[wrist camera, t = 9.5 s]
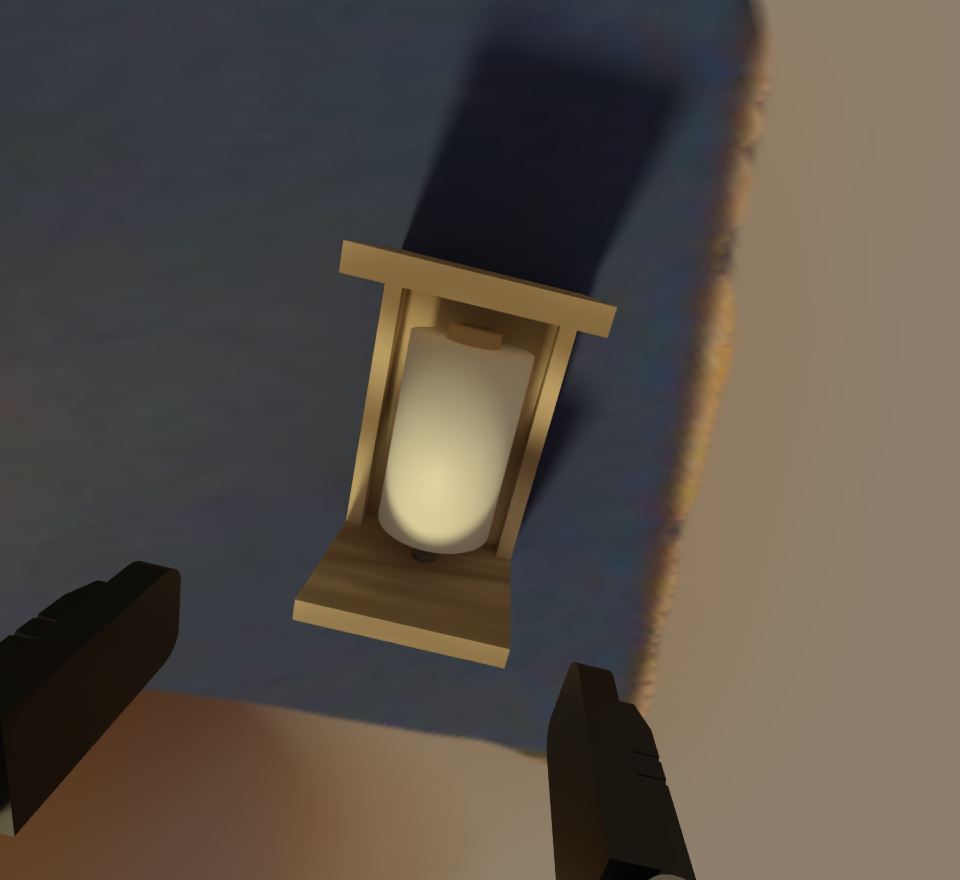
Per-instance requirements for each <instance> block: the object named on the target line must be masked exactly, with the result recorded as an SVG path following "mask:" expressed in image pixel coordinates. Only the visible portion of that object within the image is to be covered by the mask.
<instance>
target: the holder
mask: <svg viewBox="0 0 960 880" xmlns="http://www.w3.org/2000/svg"><path fill="white" fill-rule="evenodd" d="M339 272H341V273H345V274H349V275H353V276H357V277H361V278H365V279H369V280H373V281H377V282H381V283H385V287H384V293H383V299H382V305H381V312H380V318H379V324H378V330H377V336H376V342H375V348H374V354H373V360H372V366H371V373H370V379H369V385H368V391H367V397H366V403H365V409H364V415H363V421H362V428H361V434H360V440H359V446H358V452H357V458H356V464H355V470H354V476H353V483H352V489H351V495H350V501H349V507H348V513H347V519H346V522H345V524H344V525H343V527H342V528H341V530H340V531H339V533H338V535H337V536H336V538H335V539H334V541H333V542H332V544H331V545H330V547H329V548H328V550H327V551H326V553H325V555H324V556H323V558H322V559H321V561H320V562H319V564H318V565H317V567H316V568H315V570H314V571H313V573H312V575H311V576H310V578H309V579H308V581H307V582H306V584H305V585H304V587H303V588H302V590H301V591H300V593H299V595H298V596H297V598H296V599H295V605H294V612H293V620H297V621H301V622H306V623H310V624H314V625H319V626H323V627H327V628H332V629H336V630H340V631H345V632H349V633H353V634H358V635H362V636H366V637H371V638H375V639H379V640H384V641H388V642H392V643H397V644H401V645H405V646H410V647H414V648H418V649H423V650H427V651H431V652H436V653H440V654H444V655H449V656H453V657H457V658H462V659H466V660H470V661H475V662H479V663H483V664H488V665H492V666H496V667H500V668H504V667H505V664H506V661H507V658H508V654H509V651H510V559H511V556H512V552H513V549H514V546H515V542H516V539H517V535H518V532H519V528H520V525H521V522H522V518H523V515H524V511H525V508H526V504H527V501H528V498H529V494H530V491H531V487H532V484H533V480H534V477H535V474H536V470H537V467H538V463H539V460H540V456H541V453H542V450H543V446H544V443H545V439H546V436H547V432H548V429H549V426H550V422H551V419H552V415H553V412H554V408H555V405H556V402H557V398H558V395H559V391H560V388H561V384H562V381H563V378H564V374H565V371H566V367H567V364H568V360H569V357H570V354H571V350H572V347H573V343H574V340H575V336H576V333H577V331H581V332H585V333H590V334H594V335H598V336H602V337H606V338H608V335H609V331H610V328H611V325H612V322H613V319H614V315H615V312H616V309H617V307H615V306H612V305H610V304H607V303H604V302H602V301H599V300H596V299H594V298H591V297H588V296H586V295H583V294H580V293H576V292H572V291H568V290H564V289H560V288H556V287H552V286H548V285H544V284H540V283H536V282H532V281H528V280H524V279H520V278H515V277H511V276H507V275H503V274H499V273H495V272H491V271H487V270H483V269H479V268H475V267H471V266H467V265H463V264H459V263H455V262H451V261H446V260H442V259H438V258H434V257H430V256H426V255H422V254H418V253H414V252H410V251H406V250H402V249H396V248H390V247H384V246H378V245H371V244H365V243H359V242H353V241H347V240H343V247H342V255H341V262H340V270H339ZM450 322H459V323H466V324H471V325H476V326H480V327H484V328H488V329H491V330H494V331H497V332H500V333H502V334H503V339H502V342H506V343H509V344H512V345H514V346H517V347H520V348H522V349H524V350H526V351H528V352H530V353H532V354H533V355H534V356H535V359H534V363H533V367H532V371H531V374H530V378H529V382H528V386H527V390H526V394H525V397H524V401H523V405H522V409H521V413H520V417H519V421H518V424H517V428H516V432H515V436H514V440H513V444H512V447H511V451H510V455H509V459H508V463H507V467H506V470H505V474H504V478H503V482H502V486H501V490H500V493H499V497H498V501H497V505H496V509H495V513H494V516H493V520H492V524H491V528H490V532H489V536H488V538H487V541H486V542H485V543H484V544H483V545H482V546H481V547H479V548H477V549H475V550H472V551H469V552H465V553H458V554H441V553H433V552H427V551H423V550H419V549H416V548H413V547H410V546H408V545H406V544H403V543H401V542H400V541H398V540H396V539H395V538H393V537H392V536H390V535H389V534H388V533H387V532H386V531H385V530H384V529H383V528H382V526H381V524H380V522H379V519H378V513H379V507H380V501H381V496H382V490H383V484H384V479H385V473H386V467H387V462H388V456H389V450H390V445H391V439H392V433H393V428H394V422H395V416H396V411H397V405H398V399H399V394H400V388H401V382H402V377H403V371H404V365H405V360H406V354H407V348H408V343H409V337H410V331H411V329H412V328H414V327H437V328H445V329H448V327H449V323H450Z"/></svg>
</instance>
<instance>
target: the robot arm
mask: <svg viewBox="0 0 960 880" xmlns="http://www.w3.org/2000/svg"><path fill="white" fill-rule="evenodd" d="M180 584H181V577H180V573H179V571H178V570H176V569H173V568H168V567H164V566H160V565H155V564H151V563H147V562H142V561H135V562H133V563H131V564H130V565H128V566H127V567H126V568H124V569H123V570H122V571H121V572H119V573H118V574H117V575H116V576H114V577H113V578H112V579H110V580H109V581H108V582H103V581H99V580H98V581H95V582H93V583H91V584H88V585H86V586H83V587H81V588H79V589H76V590H74V591H72V592H69V593H67V594H65V595H63V596H62V597H61V598H59V599H58V600H57V601H55V602H54V603H53V604H51V605H50V606H49V607H47V608H46V609H44V610H43V611H42V612H40V613H39V614H38V617H37V618H36V619H35V618H32V619H31V620H30V621H28V622H27V623H26V624H24V625H23V626H21V627H20V628H19V629H17V630H16V632H15V634H14V635H13V636H12V635H9V636H8V637H7V638H5V639H4V640H3V641H1V642H0V833H1V834H5V835H10V836H15V835H16V834H17V833H18V832H19V831H20V829H21V828H22V827H23V826H24V825H25V824H26V823H27V821H28V820H29V819H30V818H31V817H32V816H33V814H34V813H35V812H36V811H37V810H38V809H39V808H40V806H41V805H42V804H43V803H44V802H45V801H46V800H47V798H48V797H49V796H50V795H51V794H52V792H53V791H54V790H55V789H56V788H57V787H58V786H59V784H60V783H61V782H62V781H63V780H64V779H65V778H66V776H67V775H68V774H69V773H70V772H71V771H72V770H73V768H74V767H75V766H76V765H77V764H78V763H79V761H80V760H81V759H82V758H83V757H84V756H85V755H86V753H87V752H88V751H89V750H90V749H91V748H92V746H93V745H94V744H95V743H96V742H97V741H98V740H99V738H100V737H101V736H102V735H103V734H104V733H105V732H106V730H107V729H108V728H109V727H110V726H111V725H112V723H113V722H114V721H115V720H116V719H117V718H118V716H119V715H120V714H121V713H122V712H123V711H124V710H125V709H126V707H127V706H128V705H129V704H130V703H131V702H132V700H133V699H134V698H135V697H136V696H137V695H138V694H139V692H140V691H141V690H142V689H143V688H144V687H145V686H146V684H147V683H148V682H149V681H150V680H151V679H152V677H153V676H154V675H155V674H156V673H157V672H158V671H159V669H160V668H161V667H162V666H163V665H164V663H165V662H166V661H167V659H168V658H169V656H170V654H171V652H172V650H173V648H174V646H175V643H176V640H177V637H178V631H179V609H180ZM547 764H548V778H549V790H550V805H551V819H552V833H553V847H554V861H555V874H556V880H696V878H695V874H694V871H693V868H692V864H691V861H690V858H689V854H688V851H687V848H686V844H685V841H684V838H683V835H682V831H681V828H680V825H679V821H678V818H677V815H676V811H675V808H674V804H673V801H672V798H671V795H670V791H669V788H668V786H667V785H666V778H665V775H664V771H663V768H662V764H661V762H659V754H658V751H657V748H656V745H655V741H654V738H653V734H652V731H651V729H650V728H649V726H648V724H647V723H646V722H645V720H644V719H643V717H642V716H641V714H640V713H639V711H638V710H637V708H636V707H635V705H634V704H629V703H625V702H621V701H619V697H618V693H617V689H616V685H615V681H614V677H613V674H612V672H611V671H609V670H606V669H602V668H597V667H593V666H588V665H584V664H580V663H575V662H573V663H572V664H571V666H570V667H569V670H568V672H567V675H566V678H565V680H564V683H563V686H562V689H561V691H560V694H559V697H558V700H557V702H556V705H555V708H554V710H553V713H552V716H551V719H550V723H549V728H548V735H547Z"/></svg>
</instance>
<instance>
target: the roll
mask: <svg viewBox="0 0 960 880" xmlns="http://www.w3.org/2000/svg"><path fill="white" fill-rule="evenodd" d="M502 339H503V334H502V333H500V332H497V331H494V330H491V329H488V328H484V327H480V326H476V325H471V324H466V323H459V322H450V323H449V327H448V329H445V328H437V327H414V328H412V329H411V331H410V337H409V343H408V348H407V354H406V360H405V365H404V371H403V377H402V382H401V388H400V394H399V399H398V405H397V411H396V416H395V422H394V428H393V433H392V439H391V445H390V450H389V456H388V462H387V467H386V473H385V479H384V484H383V490H382V496H381V501H380V507H379V513H378V519H379V522H380V524H381V526H382V528H383V529H384V530H385V531H386V532H387V533H388V534H389V535H390V536H392V537H393V538H395V539H396V540H398V541H400V542H401V543H403V544H406V545H408V546H410V547H413V548H416V549H419V550H423V551H427V552H433V553H441V554H458V553H465V552H469V551H472V550H475V549H477V548H479V547H481V546H482V545H483V544H484V543H485V542H486V541H487V538H488V536H489V532H490V528H491V524H492V520H493V516H494V513H495V509H496V505H497V501H498V497H499V493H500V490H501V486H502V482H503V478H504V474H505V470H506V467H507V463H508V459H509V455H510V451H511V447H512V444H513V440H514V436H515V432H516V428H517V424H518V421H519V417H520V413H521V409H522V405H523V401H524V397H525V394H526V390H527V386H528V382H529V378H530V374H531V371H532V367H533V363H534V359H535V356H534V355H533V354H532V353H530V352H528V351H526V350H524V349H522V348H520V347H517V346H514V345H512V344H509V343H506V342H502Z"/></svg>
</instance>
